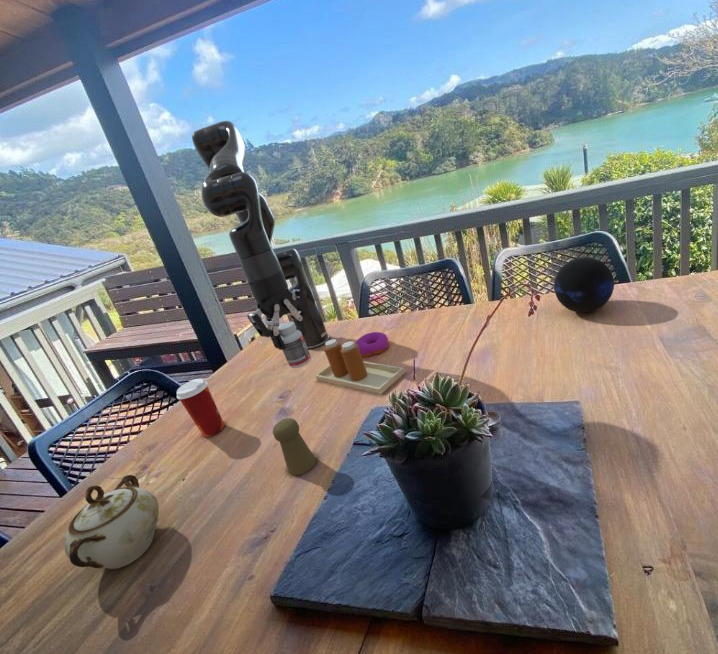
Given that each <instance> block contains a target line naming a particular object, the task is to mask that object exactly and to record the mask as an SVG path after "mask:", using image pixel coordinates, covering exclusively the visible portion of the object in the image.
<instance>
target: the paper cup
mask: <svg viewBox="0 0 718 654" xmlns="http://www.w3.org/2000/svg"><path fill="white" fill-rule="evenodd" d="M208 383H209V382H207V381H205V380H204V379H203V378H195V379H192V380H190V381H188V382H186V383H183V384H182V385H181V386H179V387H178V388H177V390H176V399H177V400H179V401H180V403H181V404H182V405H183V407H184V409H185V410H186V412H187V413H188V415H189V416H190V418H191V420H192V421H193V422H194V424H195V426H196V427H197V428H198V430H199V431H200V433H201V434H202V436H203V437H205V438H209V437H212V436H215V435H217V434H218V433H220V432H221V431H222V430H223V429H224V428H225V423H224V421H223V418H222V416H221V413H220V412H219V409H218V407H217V404H216V402H215V400H214V397H213V396H212V393H211V391H210V389H209V386H208V385H209V384H208Z"/></svg>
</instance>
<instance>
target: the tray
mask: <svg viewBox="0 0 718 654" xmlns="http://www.w3.org/2000/svg"><path fill="white" fill-rule="evenodd" d="M363 362H364V365H365V368H366V371H367V376H366V377H365V378H364V379H362V380H359V381H352V380H351V378H350V376H349V373H348V374H347V375H345V376H343V377H339V378H337V377H334V374H333V372H332V369H331V366H330V364H328V365H327V366H325V368H323V369H322V370H321V371H319V372H318V373H316V374H315V375H314V376H315V379H316V381H319V382H324V383H328V384H333V385H337V386H341V387H345V388H350V389H356V390H359V391H364V392H368V393H373V394H377V395H383V393H384V392H385V391H387V389H389V388H390V387H391V386H392V385H393V384H394V383H396V382H397V380H399V379H400V378H401V377H403V375H404V374H405V373H406V371H405V368H404V367H401V366H395V365H389V364H383V363H377V362H372V361H371V362H370V361H365V360H363Z"/></svg>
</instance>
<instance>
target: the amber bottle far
mask: <svg viewBox="0 0 718 654" xmlns="http://www.w3.org/2000/svg"><path fill="white" fill-rule="evenodd" d="M342 348H343V347H342V343H341V342H340V341H338V340H337V339H336V338H332V339H329V340H328V341H327V342H326V343H324V346H323V350H324V353H325V356H326V358H327V361H328V365H330V366H331V369H332V372H333V374H334V377H337V378H339V377H343V376H345V375H347V374H348V370H347V367H346V365H345V362H344V359H343V356H342V354H341V349H342Z"/></svg>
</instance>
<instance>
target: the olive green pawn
mask: <svg viewBox="0 0 718 654" xmlns="http://www.w3.org/2000/svg"><path fill="white" fill-rule="evenodd" d="M272 435H273V437H274V439H275V440H276V441H277V442H279V444H280V449H281V451H282V456H283V458H284V462H285V465H286V469H287V472H288V473H289V474H290V475H291V476H300V475H303V474H305V473H307V472H309V471H310V470H311V469H312V468H313V467H314V466H315V464H316V461H317V460H316V457H315V456H314V453H313V452H312V451H311V449H310V447H309V446H308V445H307V443H306V441H305V439H304V438H303V437H302V435H301V434H300V425H299V423H298V422H297V420H296V419H294V418H293V417H286V418H283V419H281V420H279V421H277V422H276V423H275V424H274V426H273V428H272Z"/></svg>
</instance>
